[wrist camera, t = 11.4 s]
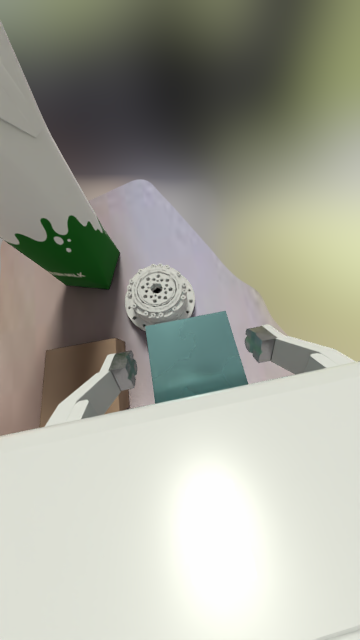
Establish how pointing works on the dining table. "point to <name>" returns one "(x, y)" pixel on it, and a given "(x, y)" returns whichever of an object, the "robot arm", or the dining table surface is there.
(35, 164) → the milk carton
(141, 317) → the mechanical component
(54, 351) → the walnut stand
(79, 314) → the dining table surface
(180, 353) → the block
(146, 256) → the dining table surface
